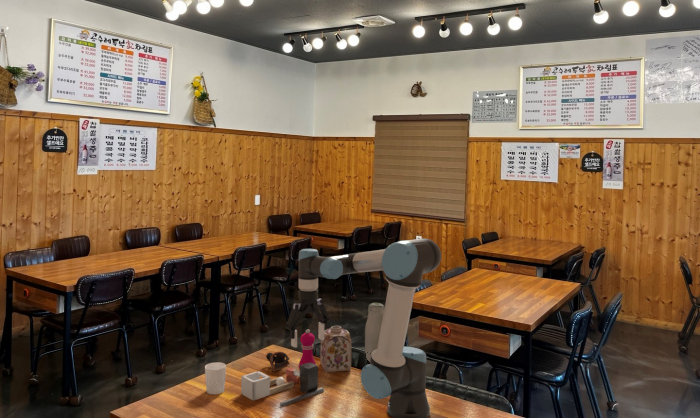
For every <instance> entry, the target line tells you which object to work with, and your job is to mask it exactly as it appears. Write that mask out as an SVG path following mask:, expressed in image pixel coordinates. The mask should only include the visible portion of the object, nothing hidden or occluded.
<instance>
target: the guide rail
mask: <svg viewBox="0 0 700 418" xmlns="http://www.w3.org/2000/svg"><path fill="white" fill-rule="evenodd" d="M324 390H325V389H324V388H323V387H318V389H316V390H314V391H311V392H308V393H303V394H300V395H296V396H295V397H292V398H289V399H287V400H283V401H280V402H279V405H280V407H282V408H283V407H285V406H288V405H290V404H293V403H297V402H299V401H301V400H304V399H307V398H309V397H313V396H315V395H318V394H322V393H324Z"/></svg>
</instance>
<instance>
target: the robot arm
mask: <svg viewBox="0 0 700 418" xmlns="http://www.w3.org/2000/svg"><path fill="white" fill-rule="evenodd" d="M441 261H442V251H441V249H440V247H439V245H438V243H436V242H435V241H433V240H432V239H429V238H417V239H410V240H398V241H397V242H393V243H391V244H389V245H388V246H387V247H386V248H384V249H379V250H378V249H377V250H371V251H362V252H354V253H347V254H342V255H341V254H340V255H334V256H333V255H332V256H320V255H319V251H318V250H317V249H316V248H315V249H314V248H302V249H301V250H299V252H298V289H299V290H298V299H299V303H294V302H293V303H292V304H291V310H290V314H289V316H288V319H287V322H286V324H285V327H284V328H285V329H286V330H289V338H290V340H291V341H290V346H291V347H293V348H297V347H298V330H297V328H298V326H299V324H300V322H301V321H302V319H303V317H304V316H305V315H307V314H310V313H311V314H312V313H313V314H314V315H315V317H316V318H317V320H318V321H319V322H318V330H317V331H318V334H317V335H318V339H319V340H320V341H321V340H324V331H325V330H326V324H328V322H329V321H330V316H329V314H328V311H327V308H326V306H325V302H324V299H322V298H319V289H318V288H319V277H320V278H325V279H328V280H331V279H332V280H336V279H338V278H340V277H341V276H343V275H350V274H356V273H357V274H358V273H366V272H367V273H368V272H379V271H383V273H384V274H385V280H386V281H387V283H388V287H387V294H386V299H385V304H384V314H383V320H382V325H381V330H380V336H379V341H378V346H377V349H376V350H374V351H373V352H372V354H371V359H370V364H368V363H367V364H366V365H364V366H363V368H362V369H361V372H360V380H361V384H362V387H363V389H364V390H365V391H366V393H367V394H368V395H369V396H370V397H372V398H373V399H377V400H382V399H385V398H389V399H388V403H387V410H386V411H387V414H388V415H389V416H390V417H392V418H429V417H430V415H431V407H430V404H429V400H428V396H427V392H426V384H427V383H426V381H427V380H426V379H427V363H428V362H427V354H426V352H425V351H424V350H422V349H420V348H416V347H412V346H405V342H406V338H407V331H408V328H409V322H410V317H411V312H412V307H413V301H414V297H415V292H416V289H418V288H420V287H421V285H422V281H423V277H424V276H423V275H425V274H429V273H431V272H433V271H435V270H437V268H438V267H439V266H440V263H441ZM317 306H318V307H317Z"/></svg>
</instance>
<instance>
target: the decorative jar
mask: <svg viewBox="0 0 700 418" xmlns="http://www.w3.org/2000/svg"><path fill="white" fill-rule="evenodd" d="M319 359H320V364H321V366H322V370H323V371H324V372H325V373H334V372H336V373H337V372H348V371H349V372H350V371H351V370H352V339H351V334H350V332H349V330H347V329H344V328H342V326H340V325H333V326H331V327H330V328H326V329H325V331H324V340H321V339H320V358H319Z"/></svg>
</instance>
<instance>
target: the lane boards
mask: <svg viewBox="0 0 700 418" xmlns="http://www.w3.org/2000/svg"><path fill="white" fill-rule="evenodd" d="M279 377H282V378H284V376H278V377H275V378H270V395H269V396H271V395H274V394H277V393H279V392H282V391H285V390H288V389H291V388H294V387H295V385H294V382H293V381H291V382H285V384H282V385H279V386H277V384H276V380H277V378H279ZM274 385H276V386H274ZM272 386H274V387H272Z"/></svg>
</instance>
